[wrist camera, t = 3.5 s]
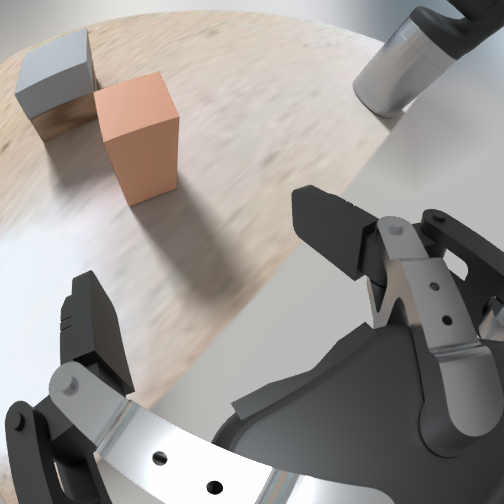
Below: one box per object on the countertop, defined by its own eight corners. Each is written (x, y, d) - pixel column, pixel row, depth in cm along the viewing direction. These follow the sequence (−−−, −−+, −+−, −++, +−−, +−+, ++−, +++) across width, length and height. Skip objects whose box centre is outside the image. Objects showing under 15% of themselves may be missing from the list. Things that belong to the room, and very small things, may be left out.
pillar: (161, 149, 26) (159, 71, 16) (176, 188, 26) (179, 116, 15) (116, 165, 24) (93, 92, 14) (129, 206, 24) (103, 142, 14)
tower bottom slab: (96, 78, 26) (91, 54, 22) (102, 116, 25) (95, 91, 21) (43, 100, 24) (34, 79, 19) (43, 142, 23) (30, 120, 19)
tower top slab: (91, 54, 22) (86, 27, 18) (94, 91, 21) (86, 61, 17) (34, 78, 19) (24, 53, 15) (28, 119, 19) (14, 94, 14)
